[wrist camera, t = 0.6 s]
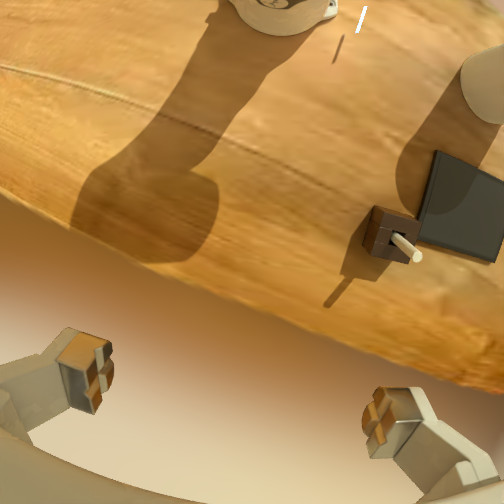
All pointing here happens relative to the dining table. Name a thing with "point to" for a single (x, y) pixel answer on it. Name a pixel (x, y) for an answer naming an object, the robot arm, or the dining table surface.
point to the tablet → (462, 208)
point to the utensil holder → (485, 84)
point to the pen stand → (381, 232)
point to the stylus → (406, 247)
